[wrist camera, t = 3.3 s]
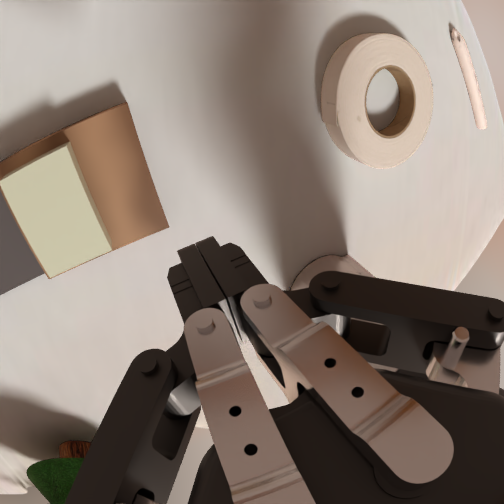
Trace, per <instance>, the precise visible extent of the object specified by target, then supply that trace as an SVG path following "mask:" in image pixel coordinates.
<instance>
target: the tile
mask: <svg viewBox="0 0 504 504" xmlns="http://www.w3.org/2000/svg"><path fill="white" fill-rule="evenodd" d="M0 186H1V188H2V191H3V193H4V195H5V197H6V199H7V201H8V203H9V205H10V207H11V209H12V211H13V213H14V215H15V217H16V219H17V221H18V223H19V225H20V227H21V229H22V231H23V233H24V234H25V236H26V238H27V240H28V242H29V243H30V245H31V247H32V249H33V251H34V252H35V254H36V256H37V257H38V259H39V261H40V262H41V264H42V266H43V267H44V269H45V271H46V272H47V274H48V276H49V277H50V278H51V277H54V276H56V275H58V274H60V273H62V272H64V271H67V270H69V269H71V268H73V267H75V266H78V265H80V264H82V263H84V262H86V261H89V260H91V259H93V258H96V257H98V256H100V255H102V254H105V253H107V252H109V251H112V241H111V238H110V236H109V234H108V232H107V229H106V227H105V225H104V223H103V221H102V219H101V216H100V214H99V212H98V210H97V207H96V205H95V203H94V200H93V198H92V196H91V194H90V191H89V189H88V186H87V184H86V182H85V179H84V177H83V174H82V172H81V169H80V167H79V164H78V162H77V159H76V156H75V154H74V151H73V148H72V146H71V143H70V141H69V142H67V143H65V144H63V145H61V146H59V147H57V148H55V149H53V150H51V151H49V152H47V153H45V154H43V155H41V156H39V157H37V158H35V159H33V160H31V161H29V162H27V163H26V164H24V165H22V166H20V167H18V168H17V169H15V170H13V171H11V172H10V173H8V174H6V175H5V176H4V177H3V178H2V179H1V180H0Z"/></svg>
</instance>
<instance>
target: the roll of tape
mask: <svg viewBox="0 0 504 504" xmlns="http://www.w3.org/2000/svg"><path fill="white" fill-rule="evenodd" d="M384 68H385V69H387V70H388V71H389V72H390V73H391V74H392V75H393V76H394V78H395V80H396V82H397V84H398V87H399V93H400V103H399V108H398V112H397V114H396V116H395V118H394V120H393V121H392V122H391V124H390V125H389V126H387V127H386V128H385V129H383V130H380V131H376V130H375V129H374V127H373V126H372V124H371V122H370V120H369V118H368V114H367V109H366V95H367V90H368V87H369V84H370V82H371V80H372V78H373V77H374V76H375V74H376V73H377V72H379V71H380V70H382V69H384ZM432 109H433V88H432V82H431V78H430V75H429V71H428V69H427V66H426V64H425V62H424V60H423V58H422V57H421V55H420V54H419V52H418V51H417V50H416V49H415V48H414V47H413V46H412V45H411V44H410V43H409V42H408V41H406V40H405V39H403V38H401V37H399V36H397V35H393V34H389V33H366V34H360V35H357V36H354V37H352V38H350V39H348V40H347V41H345V42H344V43H343V44H342V45H341V46H340V47H338V49H337V50H336V51H335V52H334V54H333V55H332V57H331V59H330V60H329V63H328V65H327V67H326V70H325V73H324V77H323V82H322V89H321V112H322V121H323V122H324V123H325V124H326V127H327V130H328V132H329V134H330V137H331V138H332V140H333V141H334V143H335V144H336V146H337V147H338V148H339V149H340V150H341V151H342V152H343V153H344V154H345V155H347V156H348V157H350V158H352V159H354V160H356V161H359V162H361V163H363V164H365V165H368V166H370V167H373V168H379V169H386V168H392V167H395V166H397V165H399V164H401V163H403V162H404V161H406V160H407V159H408V158H409V157H411V156H412V155H413V153H414V152H415V151H416V150H417V149H418V147H419V146H420V144H421V143H422V141H423V139H424V137H425V135H426V133H427V130H428V127H429V124H430V120H431V116H432Z"/></svg>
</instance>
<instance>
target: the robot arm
mask: <svg viewBox="0 0 504 504" xmlns="http://www.w3.org/2000/svg"><path fill="white" fill-rule="evenodd" d="M177 252H178V254H179V257H180V260H181V262H182V263H180V264H178V265H175V266H173V267H171V268H169V273H168V277H167V278H168V281H169V284H170V287H171V289H172V292H173V295H174V298H175V300H176V303H177V306H178V308H179V311H180V314H181V316H182V319H183V322H184V331H183V334H182V336H181V338H180V339H179V340H178V342H177V343H176V344H174V345H173V346H172V347H171V348H169V349H168V350H167V351H166V352H165V351H163V350H160V349H149V350H146V351H144V352H142V353H140V354H139V355H138V356H136V357H135V359H134V360H133V361H132V363H131V365H130V367H129V368H128V370H127V372H126V374H125V376H124V378H123V380H122V382H121V384H120V386H119V388H118V390H117V392H116V394H115V396H114V398H113V400H112V402H111V404H110V406H109V408H108V410H107V412H106V414H105V416H104V418H103V420H102V422H101V424H100V426H99V428H98V431H97V433H96V435H95V437H94V439H93V441H92V443H91V445H90V447H89V450H88V452H87V454H86V456H85V458H84V460H83V463H82V465H81V467H80V469H79V471H78V474H77V476H76V478H75V480H74V483H73V485H72V487H71V489H70V492H69V494H68V496H67V499H66V501H65V503H64V504H166V503H167V501H168V498H169V495H170V492H171V490H172V487H173V484H174V482H175V479H176V476H177V473H178V471H179V468H180V465H181V463H182V460H183V457H184V454H185V452H186V449H187V446H188V443H189V441H190V438H191V435H192V433H193V430H194V427H195V424H196V422H197V419H198V416H199V413H200V410H201V405H202V408H203V411H204V415H205V418H206V421H207V424H208V427H209V430H210V432H211V436H212V439H213V442H214V444H213V445H212V446H211V448H210V449H209V450H208V451H207V453H206V454H205V456H204V457H203V459H202V461H201V463H200V466H199V468H198V472H197V475H196V478H195V482H194V485H193V488H192V491H191V495H190V498H189V502H188V504H504V390H503V389H501V388H499V384H500V347H501V344H502V343H503V341H504V302H503V301H501V300H498V299H495V298H489V297H483V296H477V295H472V294H466V293H460V292H454V291H449V290H443V289H437V288H431V287H425V286H420V285H414V284H408V283H402V282H397V281H391V280H385V279H379V278H375V277H374V276H373V275H372V274H371V273H370V272H368V271H367V270H366V269H365V268H364V267H363V266H361V265H360V264H359V263H358V262H357V261H355V260H354V259H353V258H352V257H351V256H350V255H345V256H343V257H340V256H336V255H328V256H324V257H321V258H319V259H317V260H315V261H313V262H312V263H310V264H309V265H308V266H307V267H306V268H304V269H303V270H302V272H301V273H300V274H299V275H298V276H297V278H296V280H295V281H294V283H293V285H292V288H291V291H283V290H281V289H280V288H279V287H277V286H275V285H272V284H269V283H268V282H267V281H266V279H265V278H264V277H263V275H262V274H261V273H260V272H259V270H258V269H257V268H256V267H255V265H254V264H253V263H252V262H251V260H250V259H249V258H248V256H246V254H245V253H244V251H243V250H242V249H241V248H240V247H239V246H237V245H235V244H232V243H228V244H225V245H223V246H221V247H220V245H219V244H218V243H217V241H216V240H215V238H214V237H213V236H211V237H209V238H207V239H204V240H202V241H199V242H197V243H196V246H195V244H192V245H190V246H187V247H185V248H183V249H180V250H178V251H177ZM239 337H240V338H239ZM240 339H241V340H242V342H243V344H244V343H246V342H248V341H250V342H251V343H252V345H253V347H254V349H255V352H256V355H257V357H258V359H259V360H260V362H261V363H262V364H263V366H264V367H265V369H266V370H267V371H268V373H269V374H270V375H271V377H272V378H273V379H274V381H275V382H276V383H277V385H278V386H279V387H280V389H281V390H282V391H283V393H284V394H285V396H286V397H287V399H288V401H289V403H290V404H288V405H285V406H281V407H277V408H273V409H269V410H268V408H267V405H266V403H265V401H264V399H263V397H262V395H261V392H260V390H259V388H258V386H257V384H256V382H255V379H254V377H253V375H252V373H251V371H250V368H249V366H248V364H247V362H246V361H245V359H244V357H243V354H242V352H241V349H240V345H242V344H241V341H240Z"/></svg>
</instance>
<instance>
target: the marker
mask: <svg viewBox="0 0 504 504" xmlns="http://www.w3.org/2000/svg"><path fill="white" fill-rule="evenodd" d="M451 38H452V43H453V46H454V49H455V52H456V54H457V57H458V60H459V63H460V66H461V70H462V73H463V76H464V79H465V83H466V86H467V90H468V93H469V97H470V101H471V105H472V109H473V113H474V117H475V122H476V126H477V128H478V129H486V128H487V121H486V116H485V111H484V106H483V102H482V98H481V92H480V89H479V85H478V82H477V81H478V80H477V78H476V77H477V76H476V74H475V71H474V67H473V64H472V60H471V57H470V54H469V51H468V48H467V45H466V42H465V40H464V38H463V36H462V35H461V34H460V33H459V32H458V31H457V30H456V29H454V28H453V30H452V35H451Z"/></svg>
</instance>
